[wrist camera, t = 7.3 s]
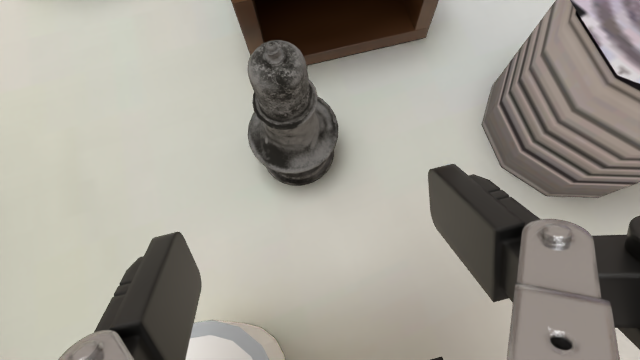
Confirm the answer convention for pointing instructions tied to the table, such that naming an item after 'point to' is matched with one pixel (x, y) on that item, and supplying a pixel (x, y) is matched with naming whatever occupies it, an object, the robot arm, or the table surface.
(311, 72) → the table surface
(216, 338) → the white short cylinder
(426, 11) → the l-shaped wooden block
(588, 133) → the can
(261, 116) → the chess piece
